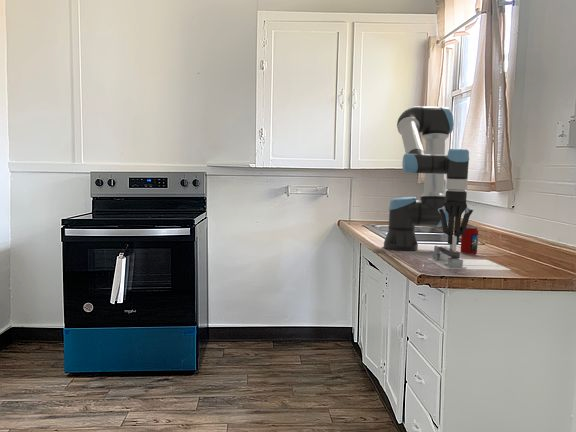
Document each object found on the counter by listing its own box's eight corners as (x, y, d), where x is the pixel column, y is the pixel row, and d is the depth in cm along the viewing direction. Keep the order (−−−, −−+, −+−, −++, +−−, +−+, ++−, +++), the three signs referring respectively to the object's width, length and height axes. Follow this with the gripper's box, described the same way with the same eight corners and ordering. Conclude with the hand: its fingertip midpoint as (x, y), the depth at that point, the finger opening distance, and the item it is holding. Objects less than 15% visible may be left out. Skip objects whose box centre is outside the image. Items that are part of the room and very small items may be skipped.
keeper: (432, 258, 197) (433, 245, 197) (445, 259, 197) (446, 246, 197) (435, 260, 194) (436, 247, 193) (448, 260, 194) (449, 247, 193)
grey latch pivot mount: (443, 264, 185) (444, 256, 185) (459, 265, 185) (460, 257, 185) (449, 268, 179) (450, 259, 179) (466, 268, 179) (466, 260, 179)
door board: (426, 261, 198) (427, 258, 198) (486, 262, 199) (486, 259, 199) (445, 271, 178) (445, 268, 178) (511, 272, 179) (511, 269, 179)
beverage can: (477, 256, 213) (478, 228, 211) (460, 255, 215) (461, 227, 214) (476, 253, 219) (478, 226, 218) (460, 252, 221) (461, 225, 220)
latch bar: (461, 258, 180) (461, 251, 180) (452, 258, 180) (453, 251, 180) (446, 251, 196) (446, 245, 196) (438, 251, 196) (439, 244, 196)
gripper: (469, 190, 192) (465, 251, 194) (435, 189, 191) (432, 250, 193) (477, 191, 184) (473, 254, 187) (442, 190, 184) (439, 254, 186)
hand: (452, 252), depth 190 cm, fingers closed
